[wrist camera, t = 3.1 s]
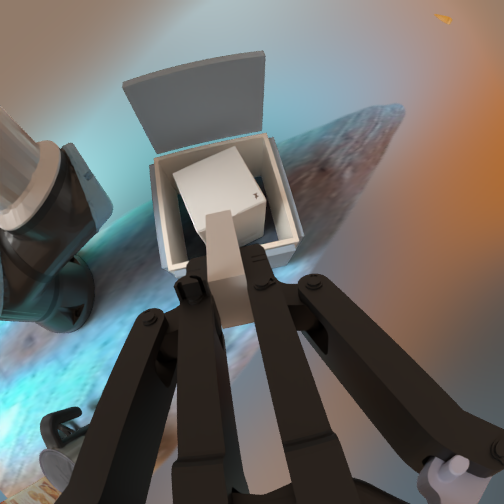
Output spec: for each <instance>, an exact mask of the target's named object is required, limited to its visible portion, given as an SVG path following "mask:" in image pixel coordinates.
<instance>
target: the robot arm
mask: <svg viewBox="0 0 504 504" xmlns="http://www.w3.org/2000/svg"><path fill="white" fill-rule="evenodd" d="M112 211H113V204H112V202H111V200H110V198H109V197H108V195H107V194H106V192H105V191H104V190H103V188H102V187H101V185H100V184H99V182H98V181H97V179H96V178H95V176H94V175H93V174H92V172H91V170H90V169H89V167H88V166H87V164H86V162H85V161H84V159H83V158H82V156H81V155H80V153H79V152H78V150H77V149H76V147H75V146H74V144H73V143H68V144H66V145H64V146H62V148H61V149H60V148H59V147H58V146H57V145H56V144H55V143H53V142H52V141H48V140H47V141H41V142H37V143H36V142H35V141H34V140H33V139H32V138H31V137H30V136H29V135H28V134H27V133H26V132H25V131H24V130H23V129H22V128H21V127H20V126H19V125H18V124H17V123H16V122H15V121H14V120H13V118H12V117H10V115H9V114H8V113H7V112H6V111H5V110H4V109H3V108H2V106H1V105H0V320H1V321H19V322H35V323H37V324H38V325H40V326H42V327H43V328H45V329H47V330H49V331H51V332H54V333H70V332H73V331H75V330H77V329H78V328H80V327H81V326H82V325H83V324H84V323H85V321H86V320H87V318H88V316H89V314H90V312H91V310H92V306H93V302H94V282H93V278H92V274H91V272H90V270H89V268H88V266H87V264H86V263H85V262H84V261H83V260H82V259H81V258H80V257H79V256H77V255H75V254H76V253H77V252H78V251H79V250H80V249H81V248H82V247H83V246H84V245H85V244H86V243H87V242H88V241H89V240H90V239H91V238H92V237H93V236H94V235H95V234H96V233H98V232H99V229H100V228H101V227H102V225H103V224H104V223H105V222H106V221H107V219H109V217H110V216H111V215H112ZM206 251H207V255H206V256H201V257H196V258H192V259H190V261H189V262H188V264H187V265H186V275H185V276H183V277H181V278H180V279H178V280H177V282H176V283H175V285H174V288H175V291H176V293H177V296H178V298H179V301H180V305H179V306H178V307H176V308H175V309H173V310H171V311H168V312H166V313H163V311H162V310H160V309H157V308H152V309H148V310H146V311H144V312H142V313H141V314H140V315H139V316H138V317H137V319H136V320H135V322H134V325H133V327H132V329H131V331H130V333H129V335H128V337H127V339H126V341H125V343H124V346H123V348H122V350H121V352H120V354H119V356H118V359H117V361H116V363H115V365H114V367H113V370H112V372H111V374H110V376H109V379H108V381H107V383H106V386H105V388H104V390H103V393H102V395H101V398H100V400H99V402H98V405H97V407H96V410H95V412H94V415H93V417H92V420H91V422H90V425H89V427H88V430H87V433H86V435H85V438H84V441H83V443H82V446H81V449H80V452H79V454H78V457H77V460H76V463H75V466H74V469H73V472H72V475H71V478H70V481H69V484H68V486H67V487H66V488H65V490H64V491H63V492H62V493H61V495H60V496H59V497H58V499H57V500H56V501H55V503H54V504H145V503H146V499H147V494H148V490H149V486H150V482H151V478H152V474H153V470H154V466H155V462H156V458H157V454H158V450H159V446H160V443H161V439H162V435H163V431H164V428H165V424H166V420H167V416H168V413H169V409H170V406H171V402H172V398H173V395H174V391H175V388H176V384H177V435H178V459H177V460H176V461H175V462H174V463H173V465H172V473H171V475H172V494H173V504H410V503H407V502H405V501H403V500H401V499H399V498H397V497H395V496H393V495H391V494H389V493H386V492H385V491H383V490H381V489H379V488H377V487H375V486H373V485H371V484H369V483H367V482H365V481H363V480H360V479H356V478H352V476H351V473H350V470H349V467H348V464H347V461H346V458H345V456H344V452H343V449H342V447H341V444H340V441H339V439H338V437H337V435H336V434H335V433H334V432H333V431H332V429H331V427H330V424H329V421H328V419H327V415H326V413H325V410H324V407H323V404H322V401H321V398H320V395H319V393H318V390H317V387H316V384H315V381H314V378H313V376H312V373H311V370H310V367H309V364H308V361H307V359H306V356H305V353H304V350H303V348H302V345H301V342H300V339H299V336H298V334H297V331H301V332H302V334H303V335H304V336H305V338H306V339H307V340H308V342H309V343H310V344H311V345H312V347H313V348H314V349H315V351H316V352H317V353H318V354H319V356H320V357H321V358H322V360H323V361H324V362H325V363H326V365H327V366H328V367H329V368H330V370H331V371H332V372H333V374H334V375H335V376H336V377H337V379H338V380H339V381H340V383H341V384H342V385H343V386H344V387H345V389H346V390H347V391H348V393H349V394H350V395H351V396H352V397H353V399H354V400H355V401H356V403H357V404H358V405H359V407H360V408H361V409H362V410H363V412H364V413H365V414H366V415H367V417H368V418H369V419H370V421H371V422H372V423H373V424H374V426H375V427H376V428H377V429H378V430H379V432H380V433H381V434H382V436H383V437H384V438H385V439H386V440H387V442H388V443H389V444H390V445H391V447H392V448H393V449H394V451H395V452H396V453H397V454H398V455H399V457H400V458H401V459H402V460H403V461H404V462H405V463H406V464H407V465H408V466H410V467H411V468H412V469H413V470H414V471H416V472H417V473H419V476H418V479H417V488H418V490H419V492H420V493H421V494H422V495H423V496H424V497H425V498H426V500H427V502H428V504H478V502H479V500H480V498H481V496H482V494H483V492H484V490H485V489H486V487H487V485H488V483H489V481H490V479H491V477H492V476H493V475H495V474H496V473H498V472H500V471H501V470H503V469H504V429H502V428H500V427H497V426H495V425H493V424H491V423H489V422H487V421H485V420H483V419H480V418H478V417H476V416H474V415H472V414H470V413H468V412H466V411H464V410H462V409H461V408H460V407H459V406H458V404H457V403H456V402H455V401H454V400H453V399H452V398H451V397H450V396H449V395H448V394H447V393H446V392H445V391H444V390H443V389H442V388H441V387H440V386H439V385H438V384H437V383H436V382H435V381H434V380H433V379H432V378H431V377H430V376H429V375H428V374H427V373H426V372H425V371H424V370H423V369H422V368H421V367H420V366H419V365H418V364H417V363H416V362H415V361H414V360H413V359H412V358H411V357H410V356H409V355H408V354H407V353H406V352H405V351H404V350H403V349H402V348H401V347H400V346H399V345H398V344H397V343H396V342H395V341H394V340H393V339H392V338H391V337H390V336H389V335H388V334H387V333H386V332H384V330H382V329H381V328H380V327H379V326H378V325H377V324H376V323H375V322H374V321H373V320H372V319H371V318H370V317H369V316H368V315H367V314H366V313H365V312H364V311H363V310H361V309H360V308H359V307H358V306H357V305H356V304H355V303H354V302H353V301H352V300H351V299H350V298H349V297H348V296H346V294H344V293H343V292H342V291H341V290H340V289H339V288H338V287H337V286H336V285H335V284H334V283H333V282H331V281H330V280H329V279H328V278H327V277H325V276H324V275H321V274H309V275H305V276H304V277H302V278H301V279H300V280H299V281H298V284H286V283H282V282H280V281H278V280H277V279H276V277H275V276H274V274H273V271H272V269H271V266H270V263H269V260H268V258H267V255H266V252H265V249H264V247H262V246H261V245H259V244H253V245H249V246H244V247H239V245H238V241H237V237H236V232H235V228H234V223H233V219H232V214H231V209H230V210H225V211H221V212H216V213H212V214H207V215H206ZM253 322H254V323H255V327H256V332H257V336H258V340H259V345H260V349H261V354H262V358H263V362H264V367H265V371H266V375H267V380H268V384H269V389H270V392H271V397H272V402H273V406H274V410H275V414H276V419H277V423H278V427H279V432H280V435H281V440H282V444H283V448H284V452H285V457H286V461H287V465H288V469H289V473H290V477H291V481H292V483H290V484H288V485H286V486H283V487H281V488H279V489H277V490H274V491H272V492H270V493H267V494H264V495H255V494H250V493H249V489H248V485H247V482H246V479H245V476H244V472H243V466H242V460H241V455H240V448H239V442H238V436H237V429H236V422H235V415H234V409H233V401H232V394H231V387H230V379H229V372H228V364H227V356H226V348H225V340H224V335H223V332H222V328H223V329H224V328H229V327H234V326H239V325H244V324H248V323H253ZM221 325H222V328H221Z"/></svg>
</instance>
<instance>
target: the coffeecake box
mask: <svg viewBox="0 0 504 504" xmlns="http://www.w3.org/2000/svg"><path fill="white" fill-rule="evenodd" d="M60 495H61V492H60V491H59V490H57V489H56V488H55V487H54V486H53V485H52V484H51V483H50V482H49V480H48V479H47V478H46V476H44V477H43V478H41V479H40V480H38V481H37V482H35V483H33V484H32V485H30V486H29V487H27V488H25V489H24V490H22V491H20V492H19V493H17V494H15V495H13V496H12V497H10V498H8V499H6V500H5V501H3V502H1V503H0V504H54V503H55V501H56V500H57V499H58V497H59V496H60Z"/></svg>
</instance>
